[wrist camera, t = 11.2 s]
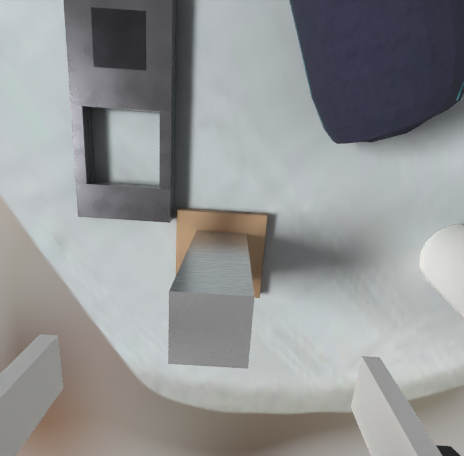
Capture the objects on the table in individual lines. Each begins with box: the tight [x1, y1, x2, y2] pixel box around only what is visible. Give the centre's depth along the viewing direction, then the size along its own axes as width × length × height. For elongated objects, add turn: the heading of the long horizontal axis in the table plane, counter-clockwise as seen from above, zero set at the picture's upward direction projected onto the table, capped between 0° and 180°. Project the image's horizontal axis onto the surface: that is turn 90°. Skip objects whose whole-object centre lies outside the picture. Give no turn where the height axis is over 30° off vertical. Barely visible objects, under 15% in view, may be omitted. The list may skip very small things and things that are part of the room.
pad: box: [176, 208, 267, 298], centre depth 29 cm, size 8×8×1 cm
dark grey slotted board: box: [64, 0, 177, 222], centre depth 26 cm, size 8×18×2 cm, turn 176°
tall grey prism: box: [168, 230, 254, 368], centre depth 23 cm, size 4×4×12 cm
